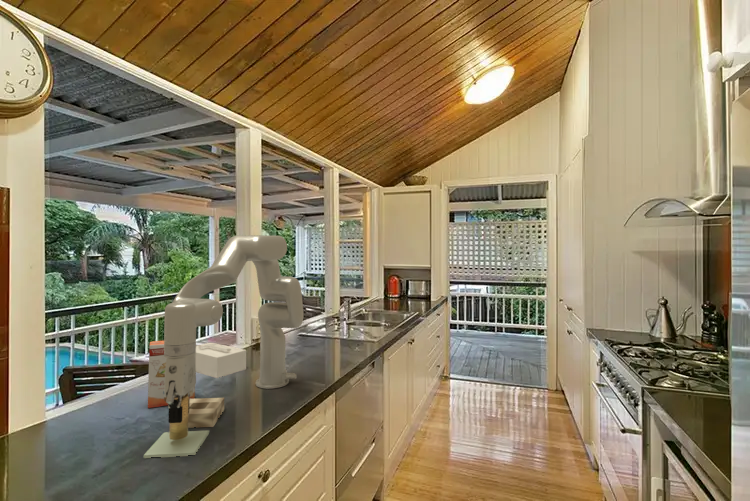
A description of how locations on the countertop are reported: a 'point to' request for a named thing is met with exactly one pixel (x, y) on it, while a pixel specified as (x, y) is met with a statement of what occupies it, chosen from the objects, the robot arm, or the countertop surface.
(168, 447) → the green mat
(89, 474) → the countertop surface
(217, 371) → the tissue box
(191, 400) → the bored block
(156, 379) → the cracker box
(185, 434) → the brass plug
